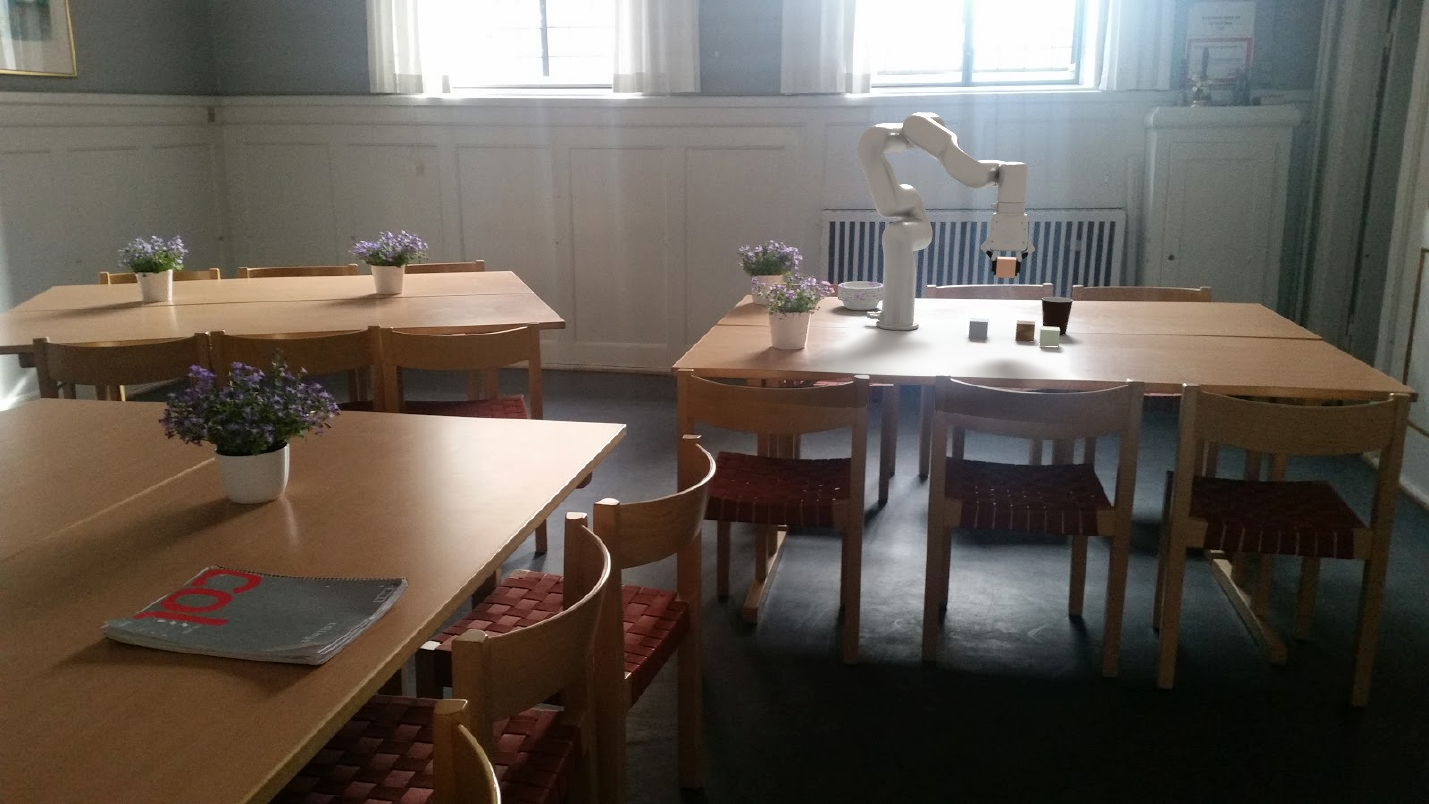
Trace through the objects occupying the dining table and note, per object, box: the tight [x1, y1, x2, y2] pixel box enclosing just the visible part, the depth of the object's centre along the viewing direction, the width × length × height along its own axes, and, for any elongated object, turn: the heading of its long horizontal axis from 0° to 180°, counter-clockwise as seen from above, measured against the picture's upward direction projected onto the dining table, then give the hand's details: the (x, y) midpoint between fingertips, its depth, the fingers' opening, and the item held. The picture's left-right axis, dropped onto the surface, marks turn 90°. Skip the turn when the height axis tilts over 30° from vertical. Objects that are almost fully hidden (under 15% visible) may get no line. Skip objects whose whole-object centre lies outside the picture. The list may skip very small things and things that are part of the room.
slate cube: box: [968, 317, 989, 340], centre depth 319 cm, size 5×5×5 cm
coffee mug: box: [1041, 296, 1074, 336], centre depth 325 cm, size 12×9×10 cm
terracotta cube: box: [995, 256, 1017, 279], centre depth 306 cm, size 5×5×5 cm
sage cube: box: [1039, 325, 1061, 348], centre depth 308 cm, size 5×5×5 cm
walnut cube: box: [1015, 319, 1036, 342], centre depth 316 cm, size 5×5×5 cm
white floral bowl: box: [837, 281, 883, 311], centre depth 362 cm, size 15×15×8 cm
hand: (1005, 274), depth 306 cm, fingers closed on terracotta cube, 5 cm apart
